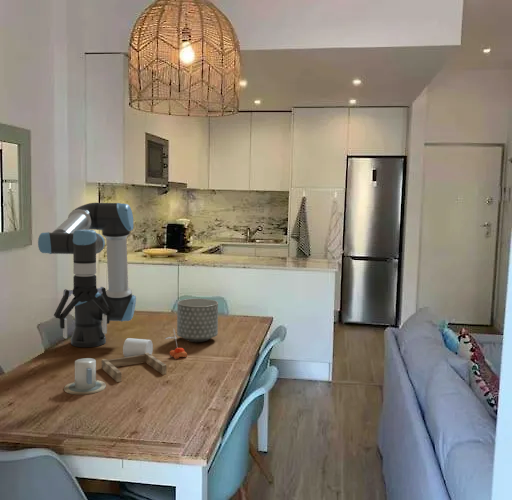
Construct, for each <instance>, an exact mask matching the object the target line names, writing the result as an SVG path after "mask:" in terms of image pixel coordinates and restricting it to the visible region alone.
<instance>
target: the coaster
mask: <svg viewBox="0 0 512 500" xmlns="http://www.w3.org/2000/svg"><path fill="white" fill-rule="evenodd" d="M106 388H107V384H106V382H104V381H103V380H98V379H96V386H95V387H94V388H92V389H87V390H80V389H76V388H75V381H72V382H69V383H67V384H66V385H65V386H64V387H63V391H64V393H65V392H66V393H67V394H70V395H77V396H85V395H92V394H96V393H99V392H102V391H103V390H105V389H106Z"/></svg>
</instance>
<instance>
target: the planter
mask: <svg viewBox="0 0 512 500" xmlns="http://www.w3.org/2000/svg"><path fill="white" fill-rule="evenodd" d="M176 310H177V311H176V312H177V313H176V314H177V315H176V316H177V319H176V328H177V329H176V336H178V337H180V338H182V339H184V340H186V341H188V342H191V343H203V342H206V341H209V340H211V339H212V338H215V337H216V336H218V329H219V328H218V327H219V322H218V320H219V302H218V301H217V300H215V299H210V298H209V299H208V298H207V299H206V298H187V299H186V298H185V299H181V300H178V301H177V309H176Z"/></svg>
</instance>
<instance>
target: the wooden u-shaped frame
mask: <svg viewBox="0 0 512 500" xmlns="http://www.w3.org/2000/svg"><path fill="white" fill-rule="evenodd" d="M145 363H146V364H147V365H149V366H150V367H151V368H152V369H154V370H155V371H157V372H158V373H160V374H161V375H167V364H166V363H164V362H163V361H162V360H160V359H158V358H157V357H156V356H154V355H153V354H152V355H151V354H149V353H145V355H138V356H131V357H125V356H123V357H117V358H112V359H107V358H101V369H102V370H103V371H104V372H105V373H106V374H107V375H109V376H110V377H111V378H112V379H113V380H114V381H115V382H116V383H120V382H121V383H122V371H121V370H120V369H119V367H124V366H125V367H127V366H130V365H137V364H138V365H139V364H145Z"/></svg>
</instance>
